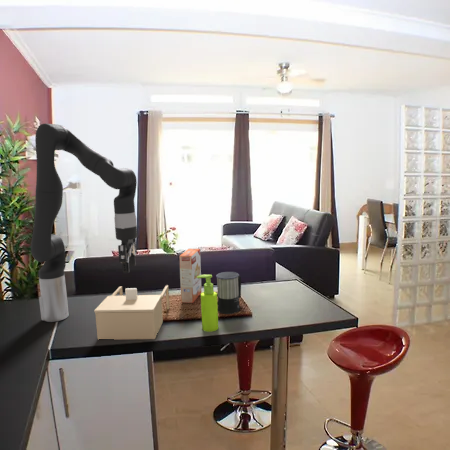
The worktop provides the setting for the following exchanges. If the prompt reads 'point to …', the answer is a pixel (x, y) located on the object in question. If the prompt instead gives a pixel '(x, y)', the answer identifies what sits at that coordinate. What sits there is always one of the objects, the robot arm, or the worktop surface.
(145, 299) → the wooden box lid
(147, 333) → the open wooden box
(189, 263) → the cracker box
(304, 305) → the worktop surface
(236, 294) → the milk frother
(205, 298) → the soap dispenser
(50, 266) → the robot arm
